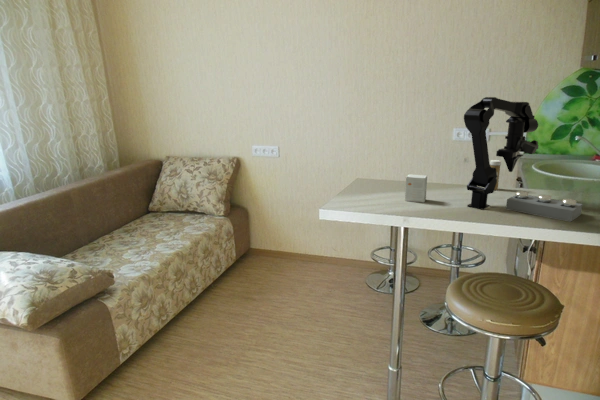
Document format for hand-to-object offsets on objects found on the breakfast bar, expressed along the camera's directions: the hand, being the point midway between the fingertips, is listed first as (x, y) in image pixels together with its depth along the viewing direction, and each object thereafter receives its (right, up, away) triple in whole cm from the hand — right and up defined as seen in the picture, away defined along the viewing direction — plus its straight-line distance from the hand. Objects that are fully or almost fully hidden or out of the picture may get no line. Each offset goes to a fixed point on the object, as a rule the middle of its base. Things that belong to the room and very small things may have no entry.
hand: (510, 171), depth 167 cm
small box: (-38, -12, +5) cm, 40 cm away
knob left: (0, -13, -8) cm, 16 cm away
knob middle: (+5, -15, -14) cm, 21 cm away
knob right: (+11, -16, -19) cm, 28 cm away
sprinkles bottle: (+2, -7, +21) cm, 22 cm away
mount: (+5, -16, -13) cm, 22 cm away
